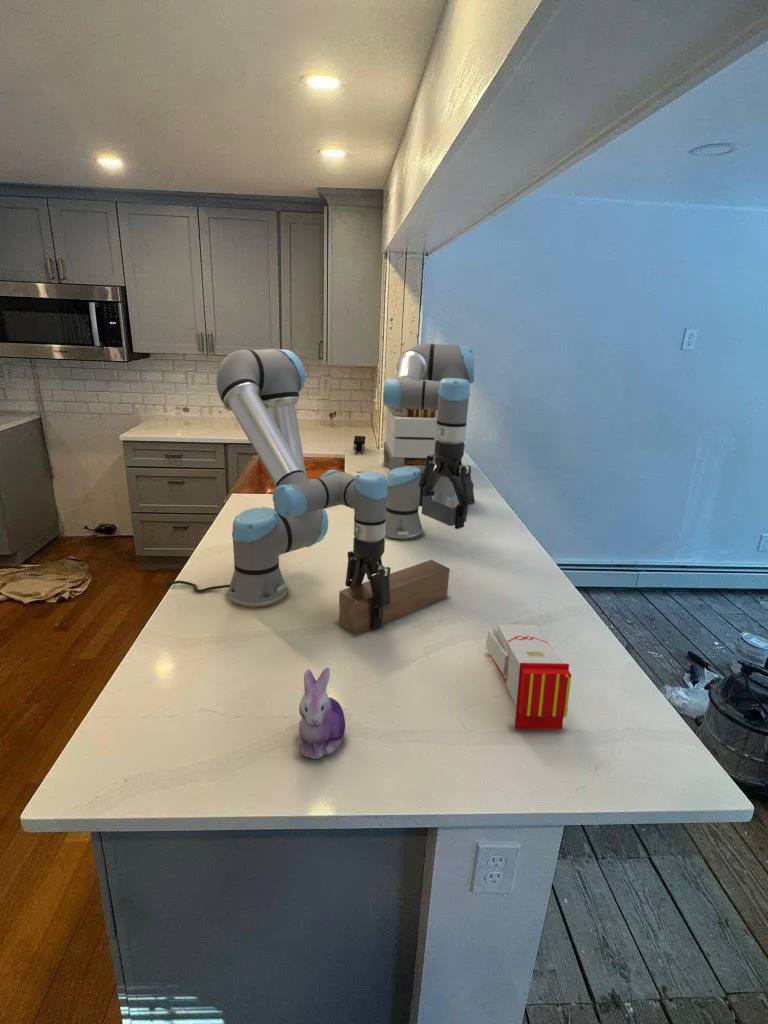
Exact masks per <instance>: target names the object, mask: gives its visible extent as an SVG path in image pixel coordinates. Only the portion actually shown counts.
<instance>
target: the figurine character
mask: <svg viewBox="0 0 768 1024" xmlns="http://www.w3.org/2000/svg"><path fill="white" fill-rule="evenodd" d="M366 438H367V437H366V436H365V435H354V438H353V446H352V447H353V448H352V449H353V451H355V454H358V453H360V454H361V455H362V454H363V452H364V451H365V450H366V446H365V444H366Z"/></svg>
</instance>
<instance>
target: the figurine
mask: <svg viewBox="0 0 768 1024" xmlns="http://www.w3.org/2000/svg"><path fill="white" fill-rule="evenodd" d="M330 676H331V669H330V668H329V667H326V668H324V669H323V670H322V671H321V673H320V675H319V677H318V678H317V680H316V678H315V676H314V674H313V672H312V670H311V669H309V668H307V669H306V670H305V671H304V674H303V686H304V693H303V695H302V697H301V700H300V702H299V706H298V707H299V708H298V711H299V715H300V717H301V719H300V721H299V723H298V724H299V725H298V733H299V745H300V754H301V755H302V756H303V757H305V758H308V759H313V760H319V759H321V758H322V757H324V756H328V755H331V754H333V753H334V752H336V750H337V749H338V748H339V747H340V746H341V745H342V743H343V741H344V737H345V731H346V719H345V713H344V710H343V707H342V705H341V704H340V703H339V701H338V700H336V698H334V697H330V696H329V695H328V693H327V688H328V684H329V680H330Z"/></svg>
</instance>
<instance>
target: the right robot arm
mask: <svg viewBox="0 0 768 1024" xmlns="http://www.w3.org/2000/svg"><path fill="white" fill-rule="evenodd" d="M474 360H475V359H474V350H473V349H472V347H470V346H468V345H461V344H443V343H442V344H441V343H439V344H438V343H421V344H417V345H414V346H412V347H410V348H407V349H406V350H404V351H403V352H402V353H401V354H400V356H399V357H398V358H397V361H396V375H395V377H393V378H387V379H385V381H384V383H383V393H382V395H383V396H382V398H383V399H382V400H383V405H384V406H385V408H387V407H394V408H409V409H427V410H436V423H435V437H434V450H433V455H429V456H427V459H426V465H425V466H424V468H423V471H422V469H421V468H420V467H419V466H418V467H417V466H404V467H399V468H395V469H393V470H391V471H390V470H389V471H388V473H387V475H386V479H387V491H388V495H387V504H386V528H385V537H384V538H387V539H389V540H395V541H410V540H415V539H418V538H420V537H421V536H422V535H423V525H422V524H421V518H420V515H419V507H422V499H423V496H427V495H431V494H435V493H441V494H443V495H446V496H448V497H451V498H454V499H456V500H458V501H459V504H458V505H457V509H456V520H455V525H454V529H455V530H459V529H462V528H464V527H465V522H464V521H465V517H466V516H467V517H468V508H469V506H470V505H474V504H475V503H476V499H475V494H474V487H472V482H473V480H472V476H471V474H472V466H471V465H464V464H463V463H462V462H461V459H463V457H464V455H465V441H466V434H467V421H468V412H469V411H468V410H469V400H470V396H471V391H470V388H471V384H473V383H475V361H474ZM463 499H464V501H463ZM424 516H425V517H427V516H426V515H424Z"/></svg>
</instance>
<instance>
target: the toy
mask: <svg viewBox="0 0 768 1024" xmlns="http://www.w3.org/2000/svg"><path fill="white" fill-rule="evenodd" d="M486 636H487V637H486V638H487V639H486V644H485V645H486V646H485V649H486V650H487V652H488V653H489V656H490V658H491V660H492V661H493V663H494V665H495V667H496V669H497V670H498V672H499V674H500V676H501V678H502V679H503V681H504V683H505V684H506V687H507V689H508V691H509V694H510V696H511V698H512V700H513V702H514V704H515V715H514V730H563V723H564V717H565V718H566V717H567V716H568V709H569V699H570V692H571V691H570V690H571V682H572V681H571V680H572V673H571V671H569V670H570V669H569V668H570V664H569V663H564V662H563V661H562V659H561V658H560V657H559V655H558V654H557V652H556V651H555V650H554V648H553V647H552V646H551V644H550V643H549V641H548V640H547V638H546V637H545V636H544V634H543V633H542V631H541V630H540V629H539V628H538V626H537V625H536V624H498V623H497V625H496V626H493V631H492V630H488V631H487V635H486Z"/></svg>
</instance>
